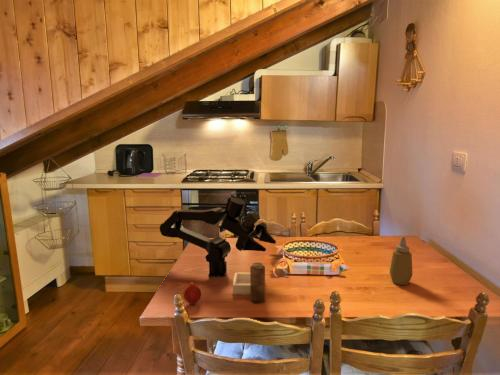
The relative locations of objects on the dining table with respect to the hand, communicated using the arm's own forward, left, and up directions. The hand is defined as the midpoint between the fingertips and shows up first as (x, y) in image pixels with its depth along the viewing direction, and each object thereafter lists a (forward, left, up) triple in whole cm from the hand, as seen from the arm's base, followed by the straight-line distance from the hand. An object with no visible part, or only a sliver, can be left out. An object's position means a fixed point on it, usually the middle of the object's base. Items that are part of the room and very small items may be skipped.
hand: (270, 246), depth 138 cm
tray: (-8, -3, -15) cm, 17 cm away
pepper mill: (-5, -13, -15) cm, 20 cm away
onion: (-27, -16, -15) cm, 35 cm away
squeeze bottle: (+49, +3, -15) cm, 52 cm away
